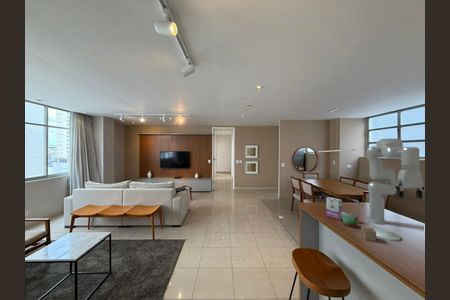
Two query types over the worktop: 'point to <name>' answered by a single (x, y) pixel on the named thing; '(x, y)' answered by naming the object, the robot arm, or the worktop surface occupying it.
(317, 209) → the worktop surface
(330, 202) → the candy bar box
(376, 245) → the worktop surface
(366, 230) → the walnut block
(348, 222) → the food container
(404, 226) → the worktop surface
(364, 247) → the worktop surface
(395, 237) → the dish
